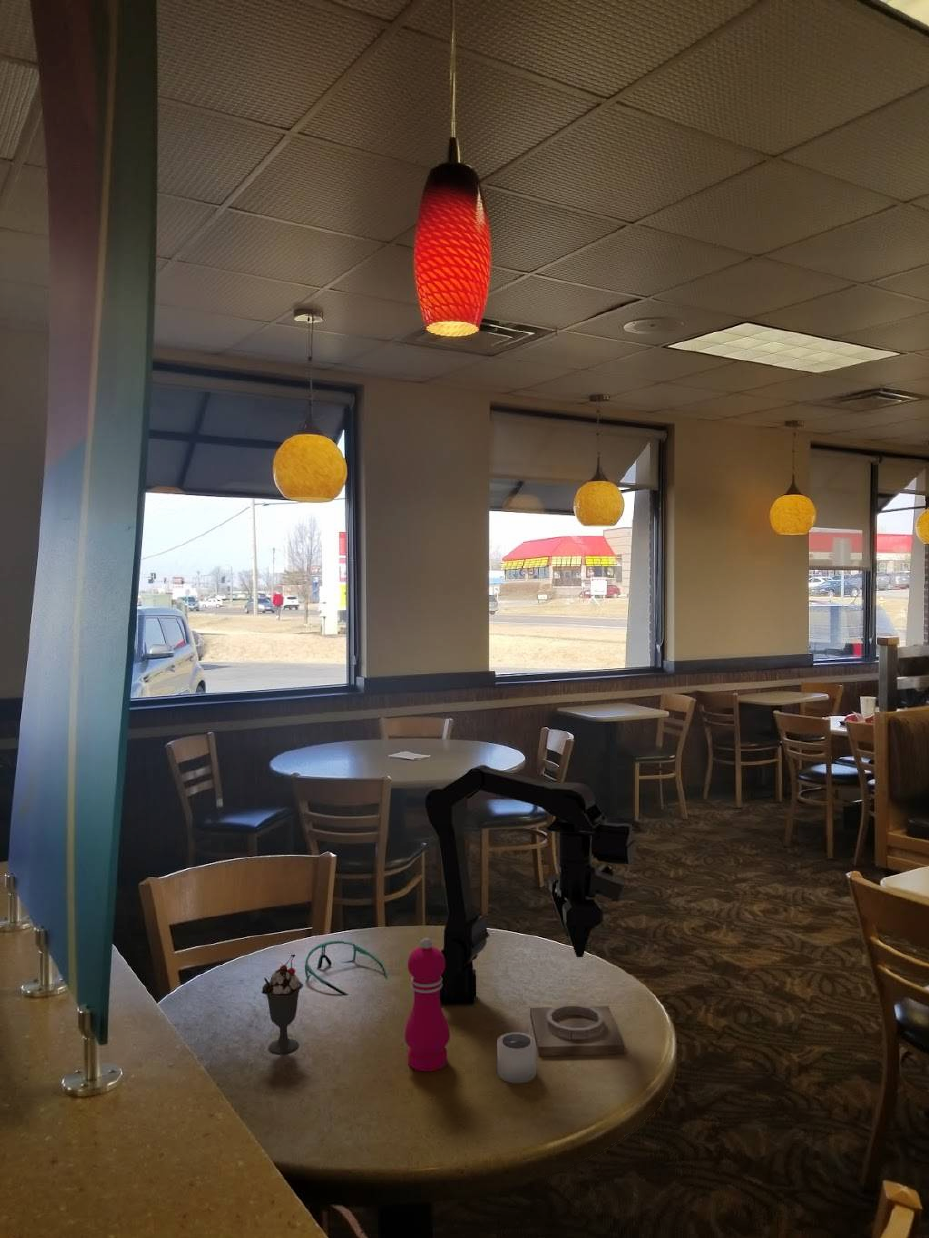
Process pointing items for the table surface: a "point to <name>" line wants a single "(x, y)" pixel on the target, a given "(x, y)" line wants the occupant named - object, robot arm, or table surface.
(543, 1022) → the mount board
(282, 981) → the sundae
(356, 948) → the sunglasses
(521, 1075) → the lens
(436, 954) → the pepper mill
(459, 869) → the robot arm
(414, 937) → the table surface
